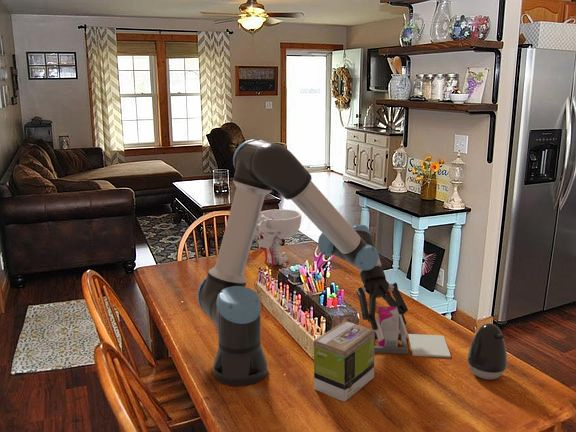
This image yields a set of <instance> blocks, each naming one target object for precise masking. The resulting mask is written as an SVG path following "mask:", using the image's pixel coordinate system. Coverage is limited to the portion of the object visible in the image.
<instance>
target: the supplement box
mask: <svg viewBox="0 0 576 432" xmlns="http://www.w3.org/2000/svg"><path fill="white" fill-rule="evenodd" d="M377 318H378V320H379V323H380V326H381V329H382V332H383V335H384V339H383V340H382V341H380V342H379V340H378V339H377V343H378V345H377V346H386V347H399V338H398V332H399V312H398V309H397V307H390V306H383V305H382V306H378V316H377Z"/></svg>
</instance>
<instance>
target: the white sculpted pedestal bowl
mask: <svg viewBox="0 0 576 432" xmlns="http://www.w3.org/2000/svg"><path fill="white" fill-rule="evenodd" d="M301 223H302V212H300V211H298V210H292V209H286V208H285V209H284V208H283V209H280V208H279V209H276V208H275V209H268V210H261V212H260V216H259V219H258V223H257V227H256V230H255V234H254V238H253V241H255V243H257V244H258V246H259V247H260V248H263V252H264V257H265V258H264V259H265V260H264V264H266V263H268V264H271V265H270V267H271V268H273V267H274V265H275V267H277V265H279V266H282V267H284V268H285V267H287V263H286V262H284V261H283V260H286V261H287V260H288V259H289V257H288V256H287V255H286V252H285V251H283V252H281V251H282V249H283V248H282V244H283V242H282V240H287V239H290V238H291V237H292V236H294V235H296V234H297V233H298V232H299V229H300V227H301ZM267 250H268V252H267ZM284 255H285V256H284Z"/></svg>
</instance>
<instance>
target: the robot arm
mask: <svg viewBox="0 0 576 432" xmlns="http://www.w3.org/2000/svg"><path fill="white" fill-rule="evenodd" d="M233 153H234V154H233V158H232V162H233V163H232V165H233V166H234V167H233V168H234V170H235V172H234V175H233V178H232V182H233V184H234V186H235V192H234V196H233V199H232V203H231V208H230V209H229V215H228V218H227V222H226V225H225V230H224V233H223V237H222V240H221V243H220V249H219V250H218V251H219V252H218V255H217V259H216V263H215V266H214V267H212V268H210V269H209V270H208V273H207V275H206V278H204V279H203V280H202V281H201V282H200V283H199V286H198V288H197V292H196V293H197V294H196V296H197V302H198V304H199V306H200V309H201V310H202V311H203V313H204V314H206V315H207V316H208V317H209V318H210V320H211V321H212V322H213V323H214V324H215V325H216V326H217V336H218V337H217V339H218V349H217V352H216V354H215V359H214V362H213V365H212V370H213V371H212V372H213V373H212V375H213V377H214V378H215V380H216V381H218V382H219V383H221V384H223V385H227V386H232V387H233V386H234V387H243V386H249V385H254V384H256V383H259V382H260V381H262V380H263V379H264V378H265V377H266V376H267V374H268V360H267V358H266V356H265V352H264V350H263V348H262V343H261V341H262V340H261V336H262V335H261V329H262V328H261V311H262V305H261V302H260V301H261V300H260V296H259V294H258V293H257V292H256V291H255V290H254V289H252V288H250V287H246V285H247V282H248V279H247V277H246V276H245V269H246V266H247V262H248V259H249V255H250V251H251V248H252V245H253V242H254V239H253V238H254V234H255V230H256V227H257V223H259V221H258V219H259V216H260V212H262V208H263V205H264V200H265V197H266V196H267V195H268V194H270V193H272V192H273V190H275V191H276V192H278V193H279V194H280V195H281V196H282V197H283V198H284V199H285V200H289V201H290V200H291V201H292V203H294V204H295V206H297V207H298V209H299V210H301V213H302V212H303V213H304V215H305V216H306V217H307V218H308V219H309V221H311V222H312V224H314V226H316V227H317V229H318V230H320V232H321V234H320V235H319V237H318V242H317V246H318V250H319V252H320V253H321V254H322V255H324V256H335V257H336V258H338V259H340V260H343V261H344V262H347V263H349V264H351V265H352V266H353V267H356V269H358V272H359V274H360V279H361V282H362V284H363V286H362V287H358V288H357V290H356V294H357V296H358V301H359V307H360V311H361V316H362V320H364V321H366V320H367V321H368V322H369V323H370V326H371V329H373V330H375V331H376V334H377V337H376V338H377V341H378V340H379V342H380V341H382V340H383V339H384V335H383V332H382V329H381V326H380V323H379V320H378V317H376V305H377V304H376V301H377V298H381V299H382V300H384V301H385V302H386V303H387V304H388V305H389V306H388V307H397V309H398V312H399V328H398V331H399V332H401V335H402V338H404V337H407V336H408V334H409V333H408V331H407V328H406V325H407V321H406V318H405V314H406V313H407V312H408V311H409V309H408V306H407V305H406V303H405V300H404V299H403V297H402V294H401V292H400V290H399V287H398V283H397V282H394V283H389V282H388V281H387V277H386V274H385V272H384V268H383V267H382V262H381V260H380V255H379V250H378V249H377V248H376V245H375V242H374V240H373V236H372V233H371V231H370V229H369V227H368V226H367V225H366V224H365V225H364V224H358V225H353V226H352V225H350V223H349V222H348V221H347V220H346V219H345V218H344V216H343V215H342V214H341V213H340V212H339V210H338V209H337V208H335V206H334V205H333V204H332V203H331V202H330V201H329V199H328V198H327V197H326V196H325V195H324V194H323V192H321V191H320V189H319V187H317V186H316V185H315V184H314V182H313V181H312V174H311V173H310V172H309V171H308V170H307V169H306V168H305V167H304V165H303V164H302V163H301V162H300V161H299V159H297V157H296V156H295V155H294V154H293V153H292V152H291V151H290V150H289V149H288V148H287V147H285V146H284V145H281V144H279V143H276V142H272V141H271V142H270V141H266V140H264V139H260V138H258V139H257V138H256V139H249V140H248V139H247V140H246V141H244V142H242V143H241V144H239V146H237V148H236V149H235V151H234V152H233ZM391 293H392V295H391ZM366 294H368V295H369V297H368V300H369V303H367V298H366ZM368 304H369V305H368Z"/></svg>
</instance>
